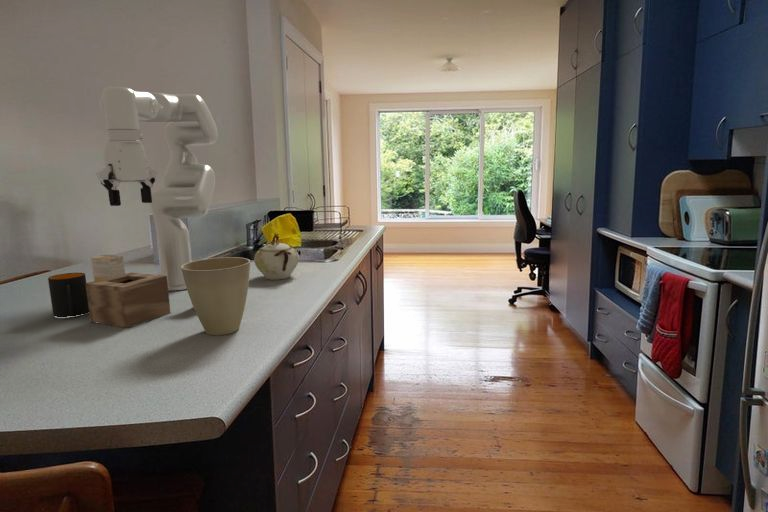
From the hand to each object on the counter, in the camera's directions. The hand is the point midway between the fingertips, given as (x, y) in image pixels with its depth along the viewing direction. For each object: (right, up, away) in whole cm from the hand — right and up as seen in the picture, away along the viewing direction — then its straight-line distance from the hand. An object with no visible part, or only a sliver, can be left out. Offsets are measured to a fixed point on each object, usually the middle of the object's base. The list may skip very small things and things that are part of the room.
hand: (131, 204), depth 132 cm
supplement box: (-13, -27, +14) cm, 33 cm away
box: (+2, -29, -4) cm, 30 cm away
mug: (-15, -30, -1) cm, 33 cm away
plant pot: (+29, -31, -16) cm, 46 cm away
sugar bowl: (+30, -21, +39) cm, 54 cm away
